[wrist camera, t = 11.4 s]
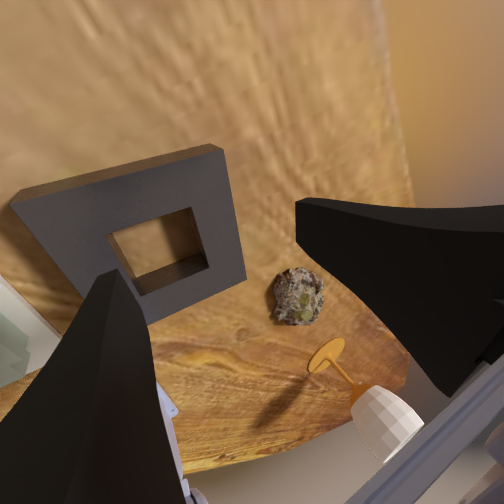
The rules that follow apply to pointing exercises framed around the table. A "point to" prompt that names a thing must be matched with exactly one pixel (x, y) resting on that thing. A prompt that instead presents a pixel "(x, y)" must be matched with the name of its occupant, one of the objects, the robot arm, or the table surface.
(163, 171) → the socket block
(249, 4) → the table surface
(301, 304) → the mineral rock
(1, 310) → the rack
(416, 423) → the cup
